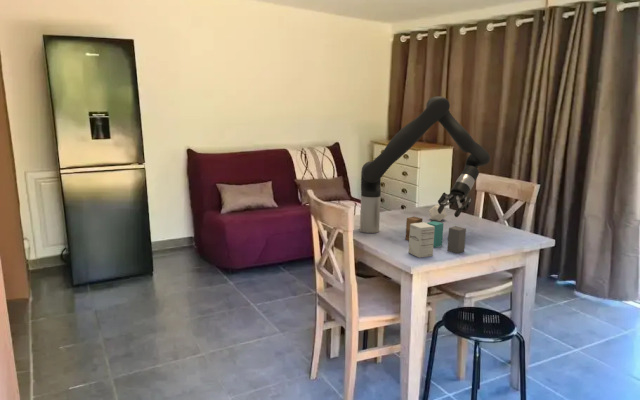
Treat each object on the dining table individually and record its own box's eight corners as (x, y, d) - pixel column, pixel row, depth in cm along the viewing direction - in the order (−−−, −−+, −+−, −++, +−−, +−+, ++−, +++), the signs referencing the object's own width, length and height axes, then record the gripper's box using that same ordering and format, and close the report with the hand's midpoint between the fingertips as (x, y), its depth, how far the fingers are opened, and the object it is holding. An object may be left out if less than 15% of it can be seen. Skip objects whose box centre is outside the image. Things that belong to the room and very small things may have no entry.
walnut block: (414, 241, 221) (415, 220, 219) (405, 239, 225) (406, 218, 222) (421, 239, 224) (422, 218, 222) (412, 237, 228) (413, 216, 226)
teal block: (435, 247, 213) (436, 225, 211) (425, 245, 217) (427, 222, 215) (441, 245, 216) (443, 223, 214) (432, 242, 220) (433, 221, 218)
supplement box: (407, 252, 205) (409, 223, 202) (422, 250, 208) (424, 221, 206) (418, 258, 198) (420, 227, 196) (433, 256, 202) (435, 226, 199)
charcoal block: (457, 253, 205) (459, 230, 203) (447, 250, 209) (448, 228, 207) (464, 251, 208) (466, 228, 206) (453, 248, 212) (455, 226, 210)
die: (449, 222, 260) (445, 205, 264) (445, 217, 253) (441, 200, 257) (434, 225, 263) (430, 209, 267) (429, 221, 256) (426, 204, 260)
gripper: (446, 179, 228) (430, 206, 223) (474, 183, 218) (458, 212, 212) (452, 189, 232) (436, 216, 227) (479, 193, 222) (464, 222, 217)
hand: (447, 214), depth 220 cm, fingers open, 8 cm apart
